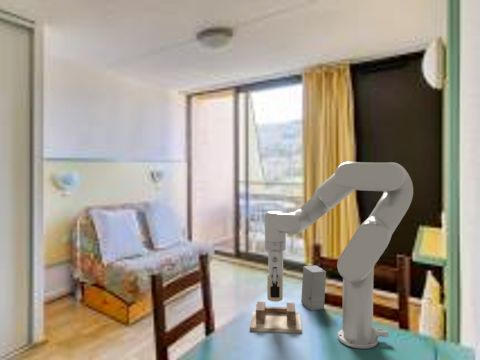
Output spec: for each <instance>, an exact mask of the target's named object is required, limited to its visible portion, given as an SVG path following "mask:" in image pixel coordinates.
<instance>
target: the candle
mask: <svg viewBox="0 0 480 360" xmlns="http://www.w3.org/2000/svg"><path fill="white" fill-rule="evenodd" d="M266 277H267V283H266V284H267V289H266V290H267V300H268V301H270V302H281V301H283V298H284V297H283V296H284V295H283V292H284V291H283V290H284V289H283V287H284V286H283V285H284V282H283V280H284V279H283V278H284V277H283V278H282V279H281V278H279V286H280V290H279V298H272V297H270V286H271V278H270V277H269V273H268V274H267V276H266ZM272 278H273V276H272ZM277 278H278V276H277Z"/></svg>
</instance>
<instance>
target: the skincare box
mask: <svg viewBox="0 0 480 360" xmlns="http://www.w3.org/2000/svg"><path fill="white" fill-rule="evenodd" d="M326 278H327V271H326V270H324V269H323V268H322V267H320V266H318V265H315V264H314V265H304V266H302V280H301V281H302V284H301V297H300V298H301V301H300V303H301V304H302V305H303V304H304V305H303V306H305V308H307V309H308V310H310V311H316V310H317V311H318V310H325V299H326V295H325V294H326V284H327V283H326V282H327V281H326V280H327V279H326Z"/></svg>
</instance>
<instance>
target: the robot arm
mask: <svg viewBox="0 0 480 360" xmlns="http://www.w3.org/2000/svg"><path fill="white" fill-rule="evenodd" d="M334 171H335V172H334V173H332V174H331V176H330V177H328V178H327V179H326V180H325V181H323V182H322V183H321V184H320V185H319V186H318V187H316V188H315V190H314V194H313V195H312V196H311V197H310V199H309V200H308V201H306V202H305V203H304V204H303V205H301V206H300V207H299V208H298V209H296V210H294V211H292V212H289V213H286V212H285V211H282V210H268V211H266V212H265V213H264V250H266V251H267V252H268V253H267V255H268V257H267V260H268V261H267V263H268V265H267V266H268V267H267V268H268V274H269V277H270V278H271V286H270V297H272V298H279V290H280V286H279V278H281V279H282V278H284V251H285V250H286V244H287V242H286V241H287V240H286V237H287V236H286V235H298V234H300V233H302V232H303V231H305V230H307V229H308V228H309V227H311V226H312V225H314V224H315V223H316V222H317V221H318V220H319V219H321V218H322V217H324V215H325V214H326V213H328V212H330V211H331V210H333V209H334V208H335V207H336V206H337V205H339V204H340V203H341V202H342V201H344V200H345V199H346V198H347V197H348V196H349V195H351V194H352V193H353V192H355V191H365V192H366V191H368V192H371V191H372V192H383V193H382V195H381V197H380V198H379V200H378V201H377V203H376V205H375V207H374V208H373V209H372V211H371V213H370V214H369V215H368V217H367V218H366V219H365V220H364V221H363V222H362V223H361V224H360V225H359V226H358V228H357V229H356V231H355V232H354V233H353V235H352V237H351V238H350V240H349V241H348V243H347V244H346V246H345V247H344V249H343V251H342V252H341V253H340V255H339V256H338V259H337V263H336V266H337V272H338V273H339V275H340V276H341V277H342V329H339V331H338V332H337V339H338V341H339V342H341V344H343V345H345V346H347V347H350V348H353V349H354V348H355V349H362V350H365V349H371V348H375V347H376V346H377V345H378V343H379V339H378V338H380V337H381V338H389V331H388V330H383V328H382V327H375V326H374V274H375V265H376V264H377V262H378V261H379V259H380V257H382V255H383V254H384V252H385V250H386V249H387V248H388V245H389V244H390V241H391V239H392V235H393V234H394V232H395V231H396V229H397V227H398V225H400V223H401V221H402V219H403V218H404V216H405V215H406V213H407V212H408V210H409V209H410V206H411V203H412V201H413V198H414V197H413V196H414V185H413V180H412V178H411V177H410V174H409V173H408V171H407V170H406V168H405V167H404V166H402V165H401V164H399V163H397V162H393V161H392V162H391V161H390V162H370V161H369V162H364V161H363V162H362V161H361V162H360V161H358V162H357V161H352V160H351V161H344V162H342V163H340V164H339V165H338V166H337V167H336V169H335V170H334ZM272 276H273V278H272ZM277 276H278V278H277Z"/></svg>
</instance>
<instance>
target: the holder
mask: <svg viewBox="0 0 480 360" xmlns="http://www.w3.org/2000/svg"><path fill="white" fill-rule="evenodd" d="M251 315H252V316H251V319H250V324H249V332H267V333H268V332H269V333H271V332H272V333H293V334H303V332H302V331H303V328H302V321H301V320H302V319H301V312H296V303H295V302H286V306H266V301H257V302H256V308H255V310H253V311H252V314H251Z"/></svg>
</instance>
